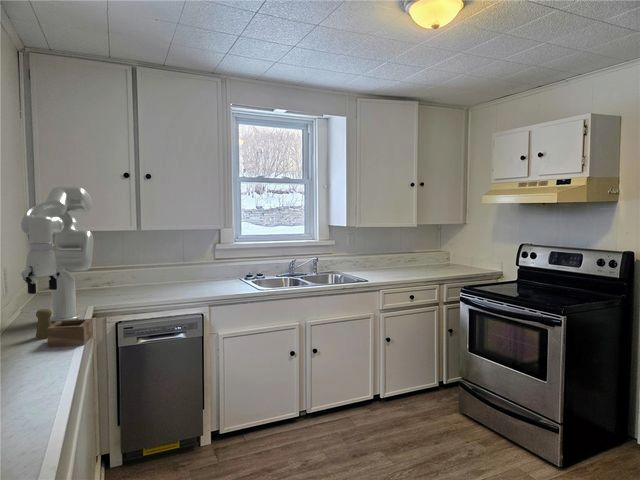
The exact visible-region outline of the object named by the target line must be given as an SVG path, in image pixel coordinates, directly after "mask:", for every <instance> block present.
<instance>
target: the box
mask: <svg viewBox="0 0 640 480" xmlns="http://www.w3.org/2000/svg"><path fill="white" fill-rule="evenodd" d="M93 332H94V331H93V318H78V319H75V320H58V321H57V322H54V323H52V325H51V326H50V327H48V328H47V338H46V340H47V348H57V347H59V348H60V347H73V346H85V344H86V343H88V342H89V340H91V338H92V337H93Z"/></svg>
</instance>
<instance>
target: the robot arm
mask: <svg viewBox="0 0 640 480" xmlns="http://www.w3.org/2000/svg"><path fill="white" fill-rule="evenodd" d="M92 207H93V200H92V197H91V195H90V194H89V193H88V191H87V190H86V189H84V188H82V187H80V186H56V187H54V188H52V189H51V191H50V192H49V194H48V196H47V198H46V199H45V201H44V202H41V203H39V204H36V205H34V206H32V207H30V208H28V209H27V210H26V212H25V213H24V214H23V217H22V219H21V223H20V228H21V231H22V232H23V233H25V234H27V235H29V251H28V252H27V255H26V266H25V270H23V271H22V272H21V273H20V275H21V277H22V280H23V281H25V283H26V284H27V294H29V295H35V294H36V293H37V284H36V280H38V279H39V278H47V277H48V278H49V279H48V289H49V290H50V291H51V312H52V314H51V317H50V319H51V323H52V322H54V323H55V322H57V321H58V320H76V319H81V314H80V313H77V300H76V299H77V298H76V279H75V277H74V276H73V275H72V274H71V272H79V271H80V272H81V271H88V270H89V269H90V268H91V267H92V263H93V252H94V236H93V233H92V232H91V231H90V230H87V229H78V221H77V220H76V219H75V217H74V216H73V215H71V213H76V212H77V213H79V212H81V213H85V212H89V211H91V209H92ZM69 212H71V213H69ZM53 235H55V236H54V237H53ZM53 238H54V239H53ZM53 241H54V243H53ZM54 246H55V247H56V249H57V250H55V251H54Z"/></svg>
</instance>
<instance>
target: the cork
mask: <svg viewBox="0 0 640 480" xmlns="http://www.w3.org/2000/svg"><path fill="white" fill-rule="evenodd" d="M35 315H36V318H37V324H36V331H35V332H36V333H35V339H36V340H47V328H48V327H50V326H51V325H53V323H52V322H51V319H50V317H51V316H52V309H49V308H40V309H38V310H37V311H36V313H35Z"/></svg>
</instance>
